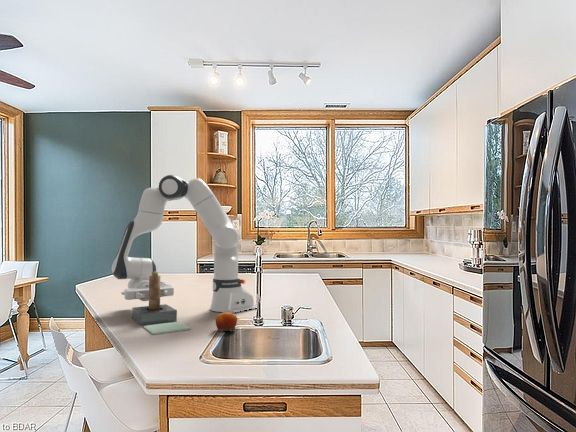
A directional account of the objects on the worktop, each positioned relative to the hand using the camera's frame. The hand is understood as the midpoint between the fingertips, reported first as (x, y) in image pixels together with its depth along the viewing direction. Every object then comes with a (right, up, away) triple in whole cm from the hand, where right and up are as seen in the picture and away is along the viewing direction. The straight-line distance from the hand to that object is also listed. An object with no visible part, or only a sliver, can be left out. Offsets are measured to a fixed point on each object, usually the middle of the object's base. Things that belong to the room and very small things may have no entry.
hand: (154, 295), depth 175 cm
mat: (+9, -10, -14) cm, 19 cm away
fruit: (+32, -11, -15) cm, 37 cm away
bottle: (0, -10, 0) cm, 10 cm away
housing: (0, -10, 0) cm, 10 cm away
